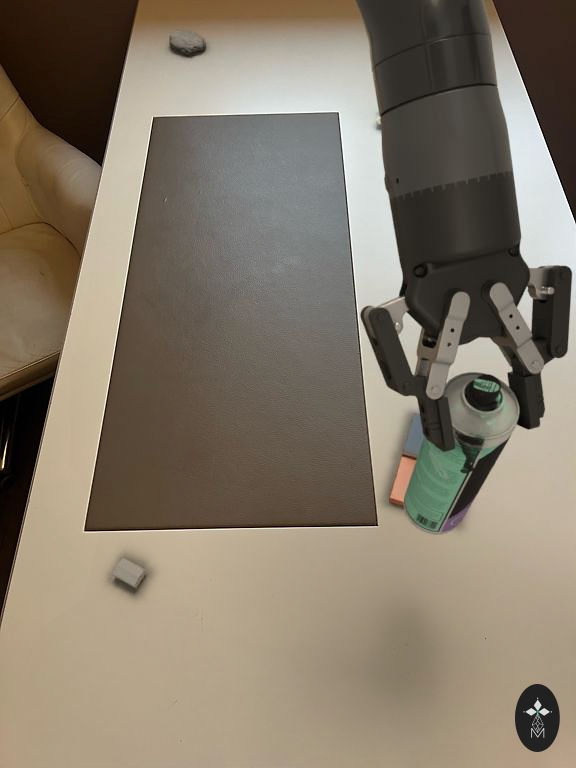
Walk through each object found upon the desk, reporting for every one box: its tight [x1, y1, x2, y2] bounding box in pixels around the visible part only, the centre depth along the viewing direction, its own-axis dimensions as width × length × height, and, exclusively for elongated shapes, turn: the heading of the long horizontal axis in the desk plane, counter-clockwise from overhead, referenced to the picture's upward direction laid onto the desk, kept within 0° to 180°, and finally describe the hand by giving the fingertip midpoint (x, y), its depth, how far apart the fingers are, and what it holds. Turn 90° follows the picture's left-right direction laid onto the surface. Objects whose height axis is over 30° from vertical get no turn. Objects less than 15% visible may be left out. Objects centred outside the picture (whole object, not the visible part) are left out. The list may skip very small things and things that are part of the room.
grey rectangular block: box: [112, 557, 148, 590], centre depth 67 cm, size 2×3×2 cm
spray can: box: [403, 371, 519, 536], centre depth 48 cm, size 6×6×20 cm
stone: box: [168, 29, 207, 55], centre depth 127 cm, size 7×8×2 cm
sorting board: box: [388, 412, 425, 507], centre depth 73 cm, size 8×12×1 cm, turn 160°
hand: (486, 435), depth 42 cm, fingers closed on spray can, 5 cm apart
